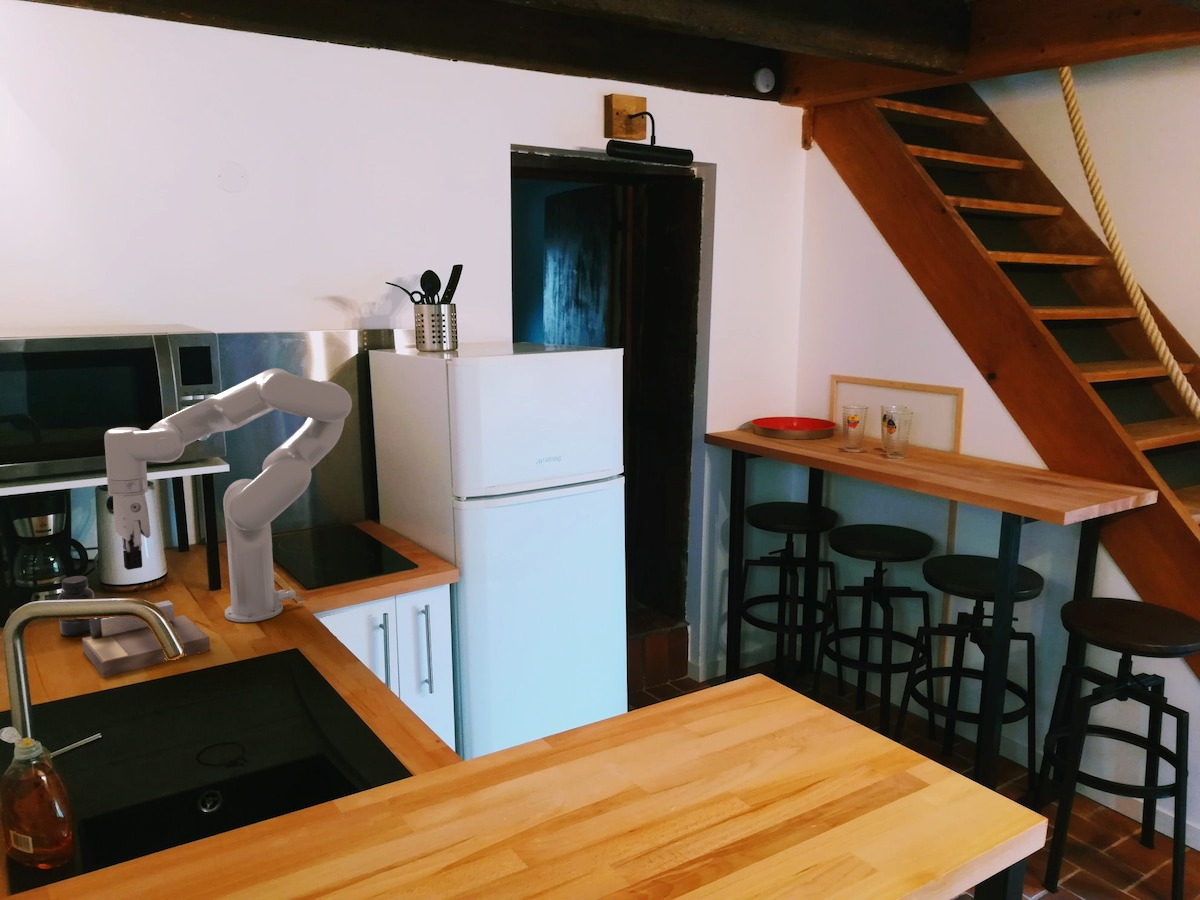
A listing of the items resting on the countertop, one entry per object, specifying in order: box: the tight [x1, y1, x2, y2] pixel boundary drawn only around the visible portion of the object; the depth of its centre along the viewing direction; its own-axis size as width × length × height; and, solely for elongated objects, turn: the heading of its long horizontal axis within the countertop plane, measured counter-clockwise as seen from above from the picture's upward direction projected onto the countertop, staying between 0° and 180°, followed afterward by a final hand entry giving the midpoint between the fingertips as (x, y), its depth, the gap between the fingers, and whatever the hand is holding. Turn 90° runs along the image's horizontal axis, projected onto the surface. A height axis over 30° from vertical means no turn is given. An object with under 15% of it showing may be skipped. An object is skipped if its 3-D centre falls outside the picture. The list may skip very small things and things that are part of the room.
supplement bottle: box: [57, 575, 95, 637], centre depth 193 cm, size 7×7×12 cm
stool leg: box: [89, 600, 175, 638], centre depth 186 cm, size 16×3×4 cm, turn 132°
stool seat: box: [81, 614, 211, 678], centre depth 183 cm, size 20×16×3 cm
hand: (133, 567), depth 192 cm, fingers closed
